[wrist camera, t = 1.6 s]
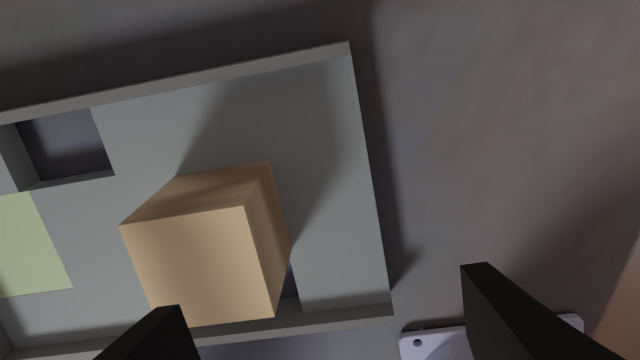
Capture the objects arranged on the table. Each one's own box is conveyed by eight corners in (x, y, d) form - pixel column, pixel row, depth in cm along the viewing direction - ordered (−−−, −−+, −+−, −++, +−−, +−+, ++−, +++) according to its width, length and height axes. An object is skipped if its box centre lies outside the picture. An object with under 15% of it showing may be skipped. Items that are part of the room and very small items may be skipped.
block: (270, 159, 18) (243, 205, 14) (292, 248, 20) (274, 317, 15) (175, 176, 19) (117, 225, 14) (203, 260, 20) (160, 330, 16)
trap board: (348, 39, 18) (348, 42, 14) (390, 292, 22) (397, 338, 19) (-90, 129, 21) (-174, 149, 17) (23, 338, 25) (-27, 386, 22)
